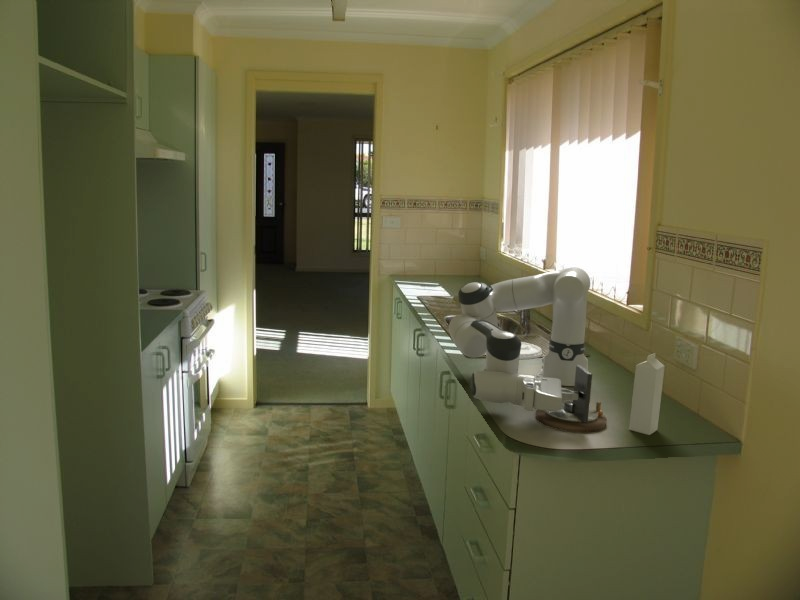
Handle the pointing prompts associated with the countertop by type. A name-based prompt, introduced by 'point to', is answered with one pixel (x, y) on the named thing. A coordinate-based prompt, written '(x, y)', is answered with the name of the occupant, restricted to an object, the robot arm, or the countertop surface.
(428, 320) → the countertop surface
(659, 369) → the milk
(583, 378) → the grey finned round piece
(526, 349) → the medallion
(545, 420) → the post base
